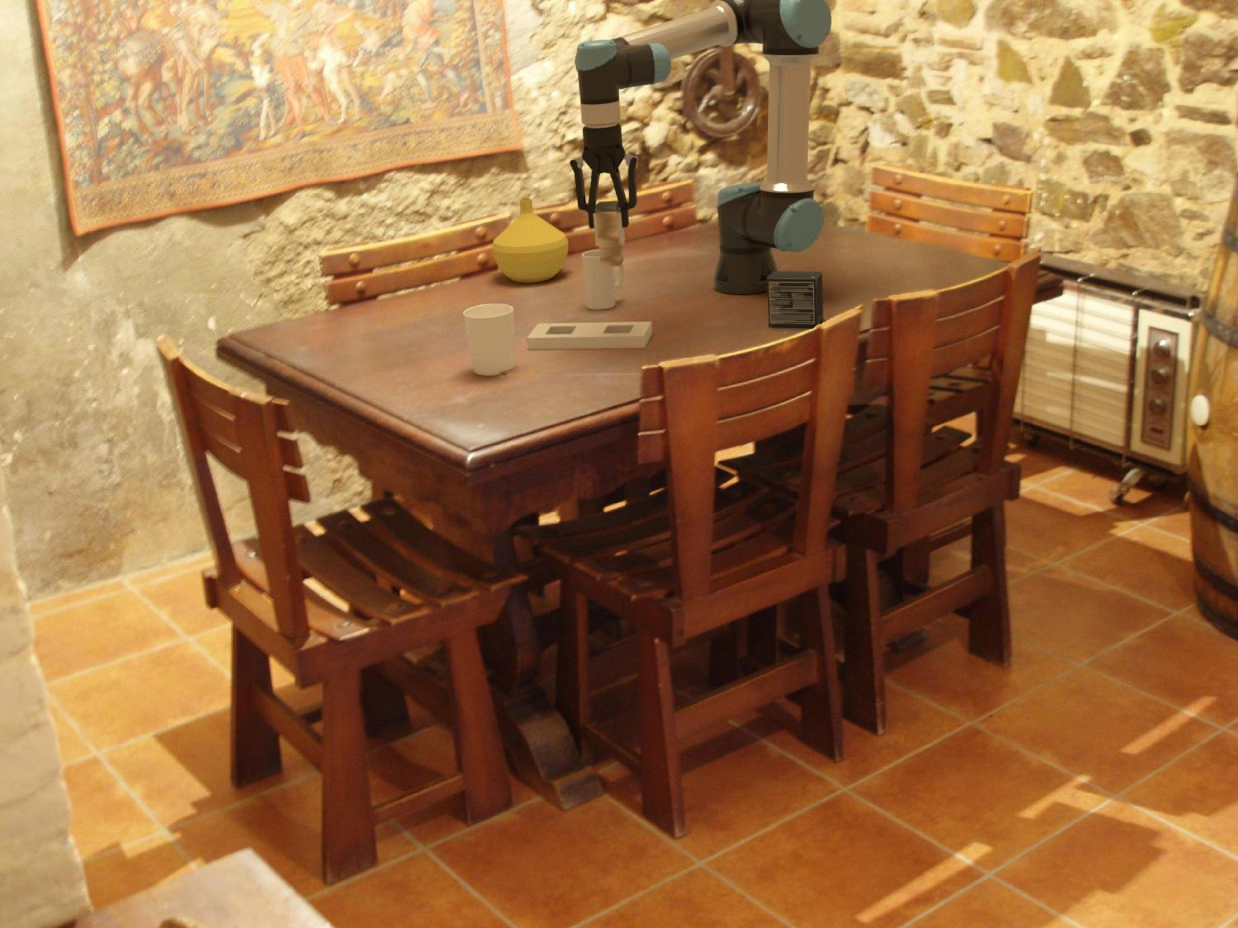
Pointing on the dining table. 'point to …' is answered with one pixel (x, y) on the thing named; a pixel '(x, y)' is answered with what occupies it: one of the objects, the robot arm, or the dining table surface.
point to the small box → (795, 299)
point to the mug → (600, 281)
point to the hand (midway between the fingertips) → (610, 243)
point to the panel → (590, 335)
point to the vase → (530, 247)
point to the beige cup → (490, 338)
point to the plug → (608, 234)
